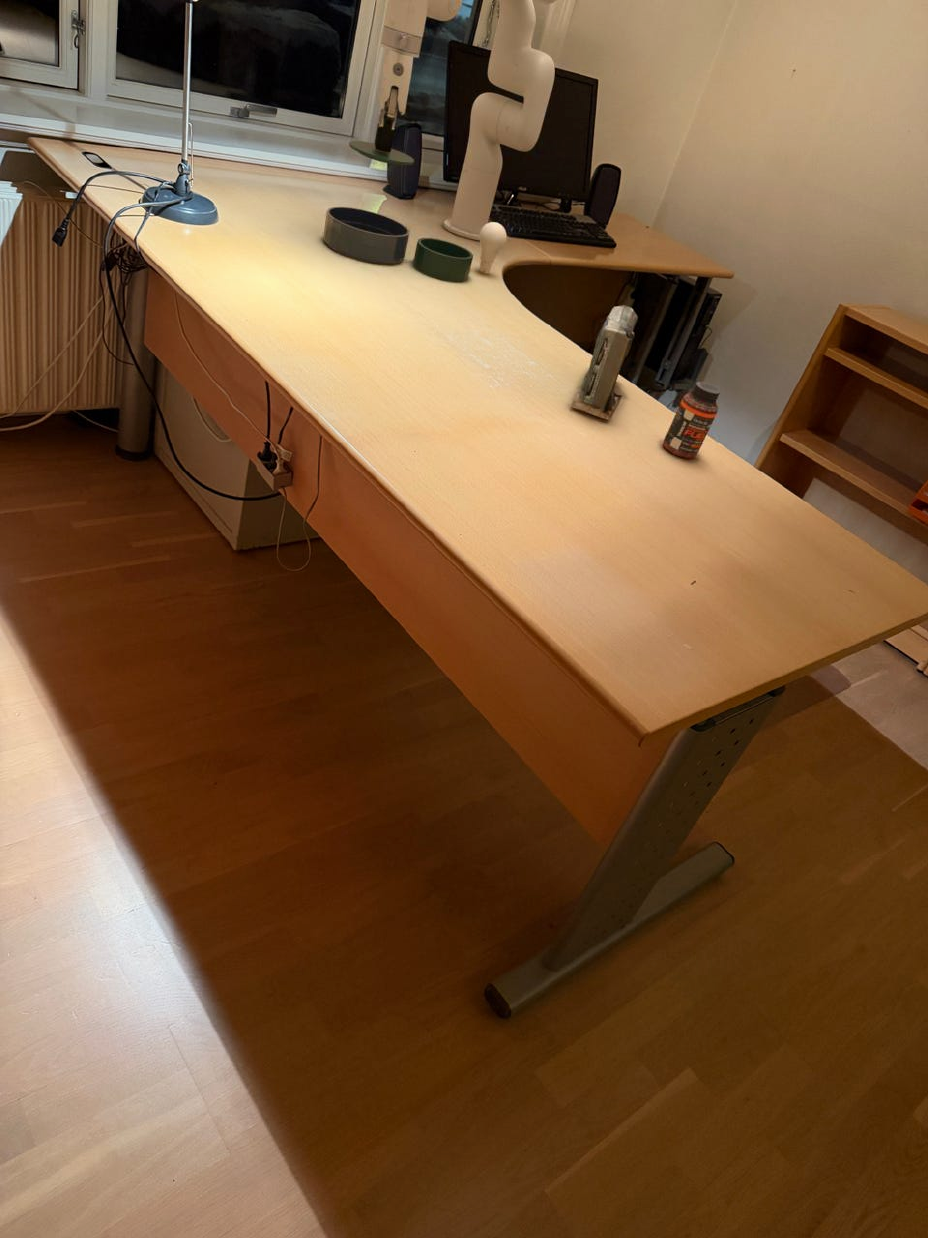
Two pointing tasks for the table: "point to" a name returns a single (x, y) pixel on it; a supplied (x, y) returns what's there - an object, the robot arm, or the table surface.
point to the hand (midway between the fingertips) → (382, 147)
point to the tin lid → (381, 153)
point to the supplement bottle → (692, 421)
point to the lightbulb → (491, 244)
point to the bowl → (365, 235)
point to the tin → (442, 260)
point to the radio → (607, 364)
